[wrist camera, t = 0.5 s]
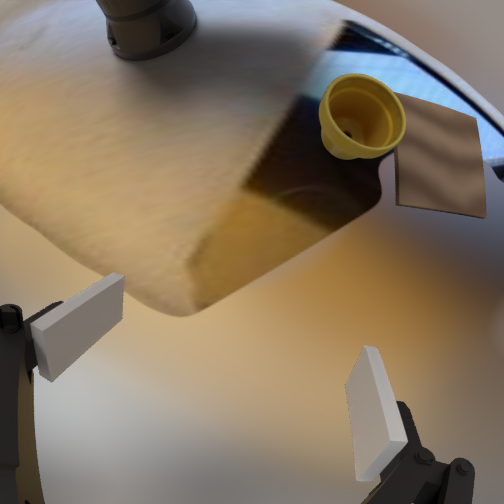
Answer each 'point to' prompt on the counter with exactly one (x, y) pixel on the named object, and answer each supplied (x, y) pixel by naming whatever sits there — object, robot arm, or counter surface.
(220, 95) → the counter surface
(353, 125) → the plant pot
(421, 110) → the walnut board
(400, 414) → the robot arm
